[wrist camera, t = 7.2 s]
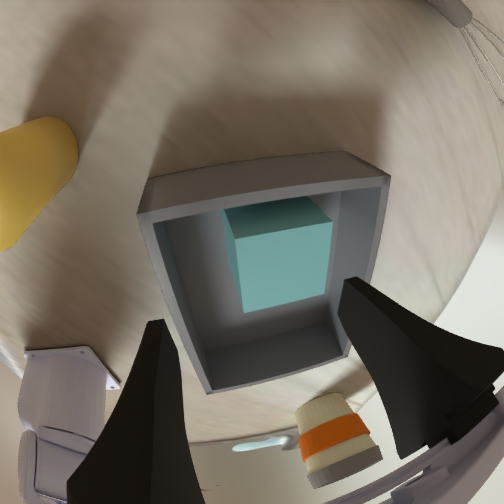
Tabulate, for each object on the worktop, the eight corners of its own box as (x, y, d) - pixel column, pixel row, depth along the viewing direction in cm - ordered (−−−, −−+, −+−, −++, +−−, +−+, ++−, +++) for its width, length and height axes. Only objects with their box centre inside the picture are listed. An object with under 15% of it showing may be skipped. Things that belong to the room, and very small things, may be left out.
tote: (326, 319, 27) (347, 356, 23) (199, 350, 25) (206, 394, 21) (345, 151, 18) (391, 175, 14) (147, 178, 16) (136, 214, 11)
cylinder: (28, 200, 14) (-24, 260, 8) (9, 133, 11) (-58, 169, 5) (87, 180, 14) (42, 238, 9) (69, 105, 12) (6, 123, 6)
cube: (228, 262, 20) (243, 313, 16) (219, 197, 17) (234, 239, 13) (295, 249, 20) (324, 293, 16) (296, 185, 18) (332, 221, 14)
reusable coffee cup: (338, 409, 47) (365, 468, 35) (280, 426, 45) (303, 492, 33) (360, 379, 41) (398, 450, 29) (292, 399, 38) (325, 483, 26)
